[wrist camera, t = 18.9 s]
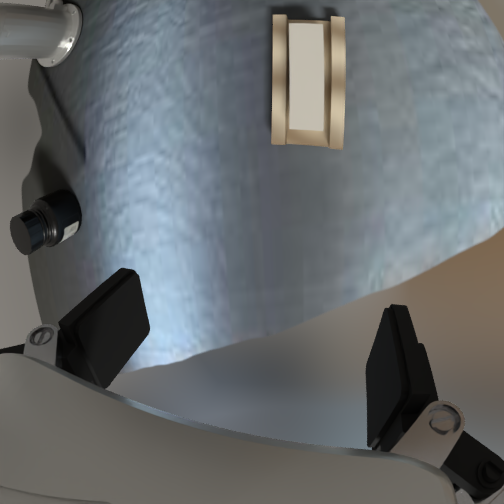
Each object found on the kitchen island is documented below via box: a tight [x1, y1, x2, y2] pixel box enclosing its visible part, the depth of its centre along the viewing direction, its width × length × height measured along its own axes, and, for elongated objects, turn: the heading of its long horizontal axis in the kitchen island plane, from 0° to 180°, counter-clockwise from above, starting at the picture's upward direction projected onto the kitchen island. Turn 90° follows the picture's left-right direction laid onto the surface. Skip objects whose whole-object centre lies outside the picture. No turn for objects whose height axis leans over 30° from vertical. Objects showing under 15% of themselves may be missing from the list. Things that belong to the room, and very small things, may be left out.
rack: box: [271, 15, 345, 150], centre depth 29 cm, size 16×8×3 cm, turn 179°
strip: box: [289, 23, 324, 131], centre depth 28 cm, size 12×4×4 cm, turn 0°
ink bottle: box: [10, 190, 81, 255], centre depth 42 cm, size 10×9×12 cm
